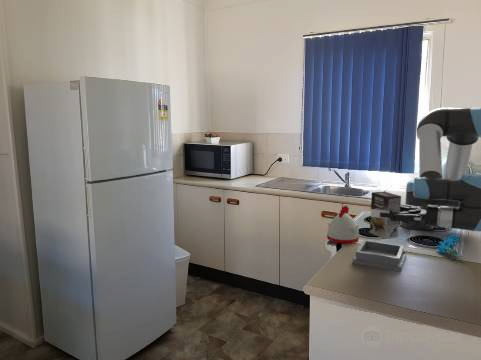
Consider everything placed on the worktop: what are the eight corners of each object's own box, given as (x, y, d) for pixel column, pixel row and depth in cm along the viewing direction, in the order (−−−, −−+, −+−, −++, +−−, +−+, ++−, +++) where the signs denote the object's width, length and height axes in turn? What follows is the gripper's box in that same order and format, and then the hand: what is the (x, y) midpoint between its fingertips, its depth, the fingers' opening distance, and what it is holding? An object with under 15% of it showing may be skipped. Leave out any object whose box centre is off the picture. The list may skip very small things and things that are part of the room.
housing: (361, 249, 162) (362, 238, 161) (405, 256, 154) (406, 245, 153) (352, 263, 147) (353, 252, 146) (400, 271, 139) (401, 259, 138)
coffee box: (368, 232, 151) (370, 192, 148) (382, 230, 153) (384, 190, 150) (385, 239, 143) (387, 197, 140) (399, 237, 145) (401, 195, 142)
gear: (433, 243, 163) (454, 229, 158) (443, 253, 163) (464, 240, 158) (436, 256, 153) (459, 241, 148) (447, 267, 153) (470, 252, 148)
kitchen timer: (363, 237, 176) (365, 205, 174) (350, 245, 166) (351, 212, 164) (336, 231, 185) (337, 201, 183) (321, 239, 175) (322, 206, 173)
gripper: (436, 235, 129) (367, 226, 139) (438, 218, 149) (377, 211, 159) (438, 213, 127) (368, 206, 138) (439, 199, 147) (378, 194, 157)
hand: (373, 209), depth 148 cm, fingers closed on coffee box, 10 cm apart
